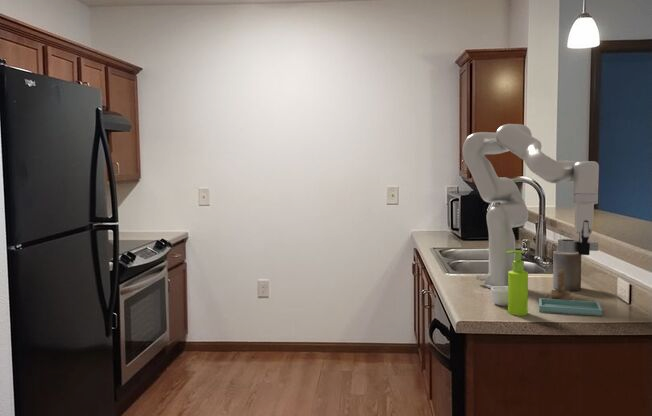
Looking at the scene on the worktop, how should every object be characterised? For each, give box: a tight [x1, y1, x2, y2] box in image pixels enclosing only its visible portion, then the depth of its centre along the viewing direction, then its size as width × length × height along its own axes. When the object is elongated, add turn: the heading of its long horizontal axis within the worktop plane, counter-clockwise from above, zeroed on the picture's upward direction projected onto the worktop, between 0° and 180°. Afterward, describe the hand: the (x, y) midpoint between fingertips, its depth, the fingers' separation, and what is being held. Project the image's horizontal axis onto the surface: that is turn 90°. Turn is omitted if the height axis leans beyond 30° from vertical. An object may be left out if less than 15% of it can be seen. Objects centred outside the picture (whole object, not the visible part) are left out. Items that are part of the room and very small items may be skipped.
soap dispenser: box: [505, 249, 529, 317], centre depth 178 cm, size 6×7×20 cm
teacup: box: [490, 286, 508, 307], centre depth 191 cm, size 10×8×5 cm
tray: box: [538, 297, 603, 317], centre depth 182 cm, size 18×10×2 cm, turn 70°
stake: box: [547, 269, 574, 300], centre depth 191 cm, size 8×8×11 cm
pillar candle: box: [552, 249, 582, 292], centre depth 210 cm, size 10×10×15 cm
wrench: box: [557, 238, 599, 253], centre depth 188 cm, size 12×6×4 cm, turn 70°
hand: (583, 253), depth 188 cm, fingers closed on wrench, 2 cm apart
